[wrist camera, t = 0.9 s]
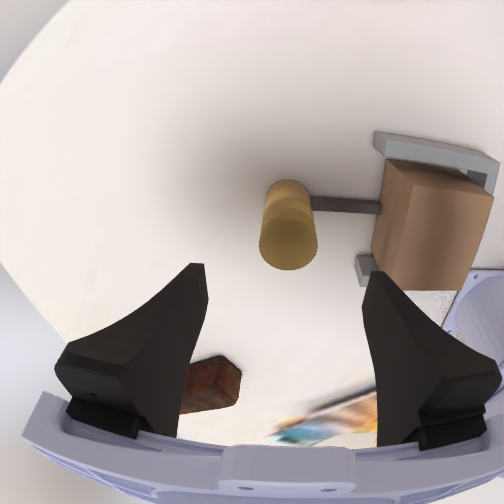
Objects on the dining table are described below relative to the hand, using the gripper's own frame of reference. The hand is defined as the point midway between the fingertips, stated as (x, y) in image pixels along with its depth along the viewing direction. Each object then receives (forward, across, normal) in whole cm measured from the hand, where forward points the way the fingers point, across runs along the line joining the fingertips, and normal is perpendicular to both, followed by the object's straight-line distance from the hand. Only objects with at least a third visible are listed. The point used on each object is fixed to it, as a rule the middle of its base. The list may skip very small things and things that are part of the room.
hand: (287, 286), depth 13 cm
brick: (+10, +9, +22) cm, 25 cm away
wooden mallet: (+9, -5, 0) cm, 11 cm away
